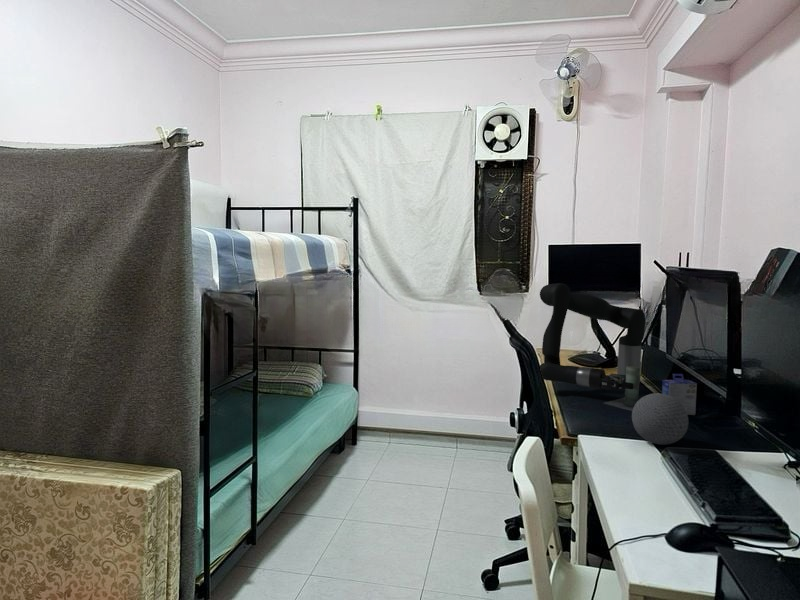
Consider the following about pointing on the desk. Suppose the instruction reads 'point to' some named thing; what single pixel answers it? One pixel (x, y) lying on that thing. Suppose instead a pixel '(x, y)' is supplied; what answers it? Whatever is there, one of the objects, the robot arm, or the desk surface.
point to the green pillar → (633, 377)
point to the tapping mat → (620, 404)
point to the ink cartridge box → (681, 392)
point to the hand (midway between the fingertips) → (635, 384)
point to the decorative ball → (660, 419)
